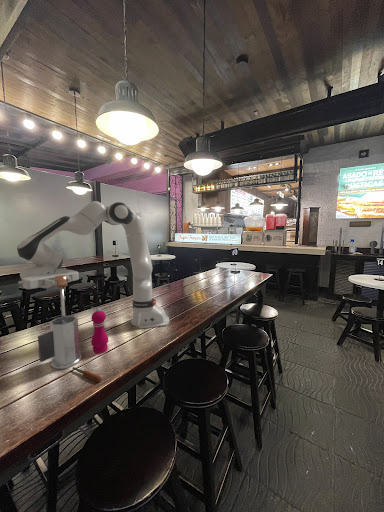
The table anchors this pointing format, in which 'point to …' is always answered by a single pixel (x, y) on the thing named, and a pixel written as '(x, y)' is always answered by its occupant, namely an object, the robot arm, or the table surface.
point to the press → (61, 343)
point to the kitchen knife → (88, 375)
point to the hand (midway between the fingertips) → (62, 281)
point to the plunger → (62, 293)
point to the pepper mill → (99, 332)
